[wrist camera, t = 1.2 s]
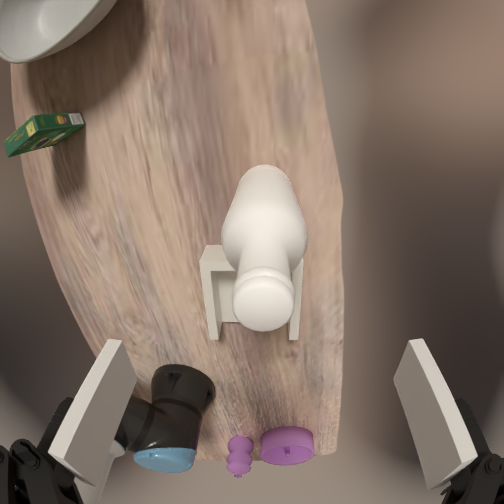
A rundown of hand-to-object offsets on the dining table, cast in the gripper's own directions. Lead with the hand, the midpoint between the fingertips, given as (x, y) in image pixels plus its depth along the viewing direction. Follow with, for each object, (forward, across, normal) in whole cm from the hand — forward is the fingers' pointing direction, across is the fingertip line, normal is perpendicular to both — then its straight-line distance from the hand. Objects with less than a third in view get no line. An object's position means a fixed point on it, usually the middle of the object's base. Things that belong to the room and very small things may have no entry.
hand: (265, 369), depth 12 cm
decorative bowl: (+35, -30, +38) cm, 59 cm away
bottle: (+35, 0, 0) cm, 35 cm away
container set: (+35, +1, -72) cm, 80 cm away
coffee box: (+35, -33, +13) cm, 50 cm away
